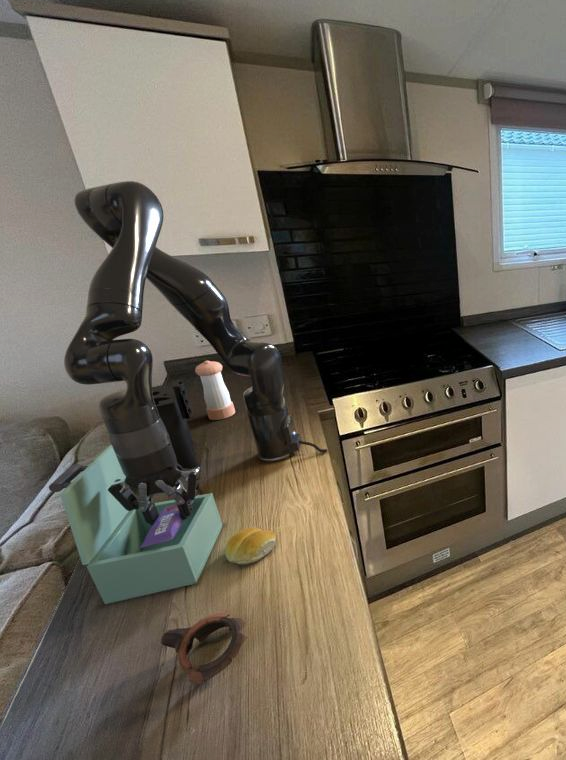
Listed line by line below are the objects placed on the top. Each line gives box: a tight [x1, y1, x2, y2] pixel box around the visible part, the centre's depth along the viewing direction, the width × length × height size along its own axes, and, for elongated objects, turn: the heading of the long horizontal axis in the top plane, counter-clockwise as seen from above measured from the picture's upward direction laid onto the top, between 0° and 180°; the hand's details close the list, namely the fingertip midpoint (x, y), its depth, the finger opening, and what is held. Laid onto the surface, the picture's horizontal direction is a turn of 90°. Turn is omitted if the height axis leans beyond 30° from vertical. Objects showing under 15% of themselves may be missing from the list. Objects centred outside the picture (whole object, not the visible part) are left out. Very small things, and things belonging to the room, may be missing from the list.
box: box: [86, 492, 224, 605], centre depth 86 cm, size 14×16×9 cm
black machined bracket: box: [152, 379, 197, 469], centre depth 117 cm, size 12×21×22 cm, turn 39°
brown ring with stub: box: [160, 612, 248, 685], centre depth 69 cm, size 12×10×8 cm
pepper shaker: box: [194, 360, 236, 421], centre depth 141 cm, size 7×7×19 cm
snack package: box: [140, 500, 194, 548], centre depth 84 cm, size 12×2×5 cm
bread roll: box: [224, 526, 277, 565], centre depth 90 cm, size 8×9×4 cm
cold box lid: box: [48, 444, 129, 566], centre depth 79 cm, size 15×16×5 cm
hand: (171, 519), depth 85 cm, fingers closed on snack package, 4 cm apart
